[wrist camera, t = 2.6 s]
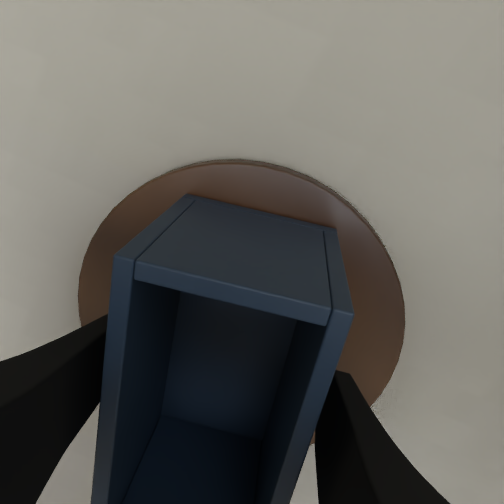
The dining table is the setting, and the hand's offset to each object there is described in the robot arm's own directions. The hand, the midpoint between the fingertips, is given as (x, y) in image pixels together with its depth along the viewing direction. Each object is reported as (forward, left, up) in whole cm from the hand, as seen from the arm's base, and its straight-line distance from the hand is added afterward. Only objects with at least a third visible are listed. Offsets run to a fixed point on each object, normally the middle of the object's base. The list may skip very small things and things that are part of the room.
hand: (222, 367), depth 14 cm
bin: (-1, 0, -2) cm, 2 cm away
